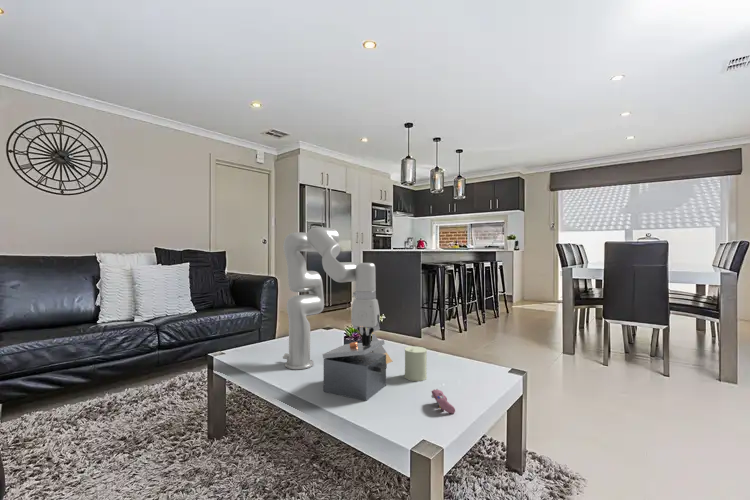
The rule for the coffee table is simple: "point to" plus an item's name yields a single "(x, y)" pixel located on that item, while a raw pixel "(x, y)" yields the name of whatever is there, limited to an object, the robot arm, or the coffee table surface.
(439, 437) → the coffee table surface
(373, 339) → the sandwich container
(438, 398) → the pink toy animal
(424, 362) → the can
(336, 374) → the grey storage box
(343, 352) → the lid
